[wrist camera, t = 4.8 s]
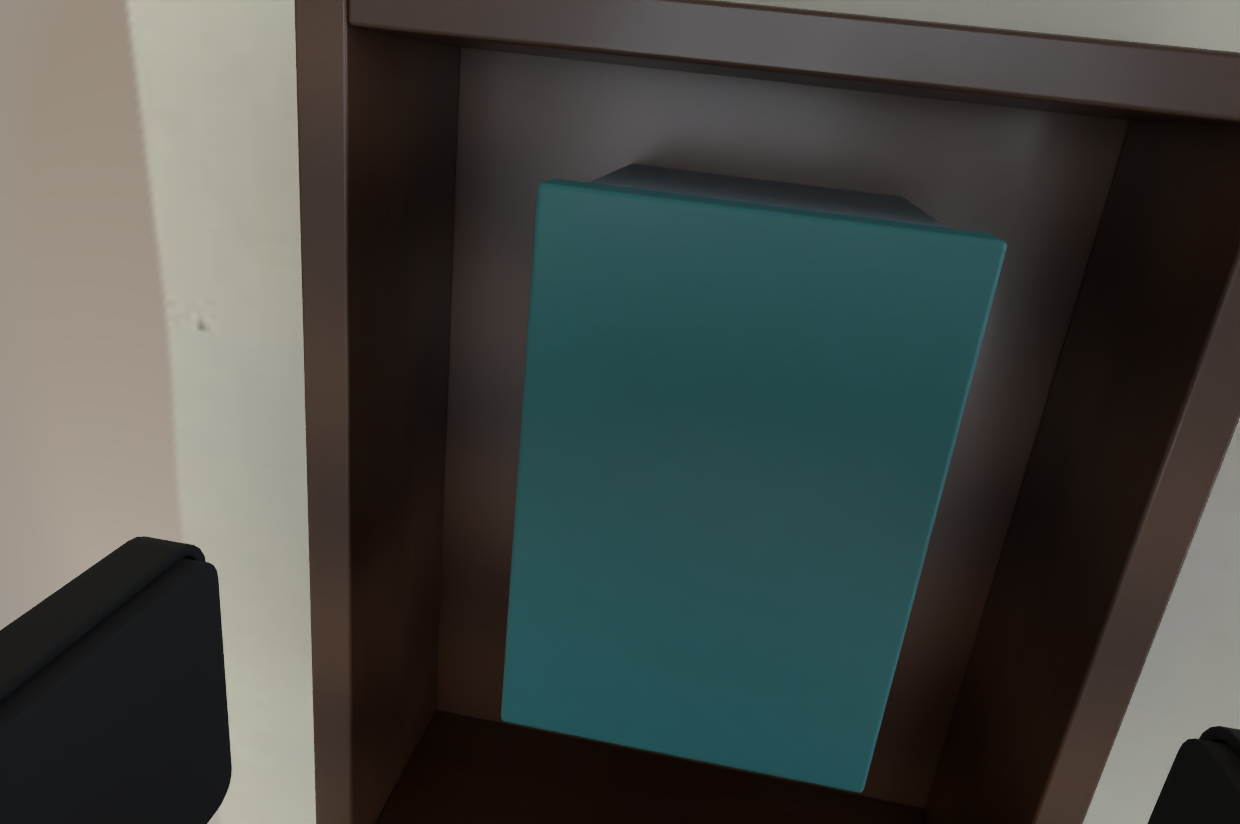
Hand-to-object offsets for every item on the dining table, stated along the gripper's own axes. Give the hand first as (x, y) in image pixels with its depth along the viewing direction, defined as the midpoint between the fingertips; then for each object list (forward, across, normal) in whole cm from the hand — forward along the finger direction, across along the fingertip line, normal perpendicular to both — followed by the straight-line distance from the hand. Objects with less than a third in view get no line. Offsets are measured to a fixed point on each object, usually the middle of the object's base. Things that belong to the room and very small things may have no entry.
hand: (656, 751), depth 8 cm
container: (+13, 0, 0) cm, 13 cm away
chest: (+14, 0, +2) cm, 14 cm away
